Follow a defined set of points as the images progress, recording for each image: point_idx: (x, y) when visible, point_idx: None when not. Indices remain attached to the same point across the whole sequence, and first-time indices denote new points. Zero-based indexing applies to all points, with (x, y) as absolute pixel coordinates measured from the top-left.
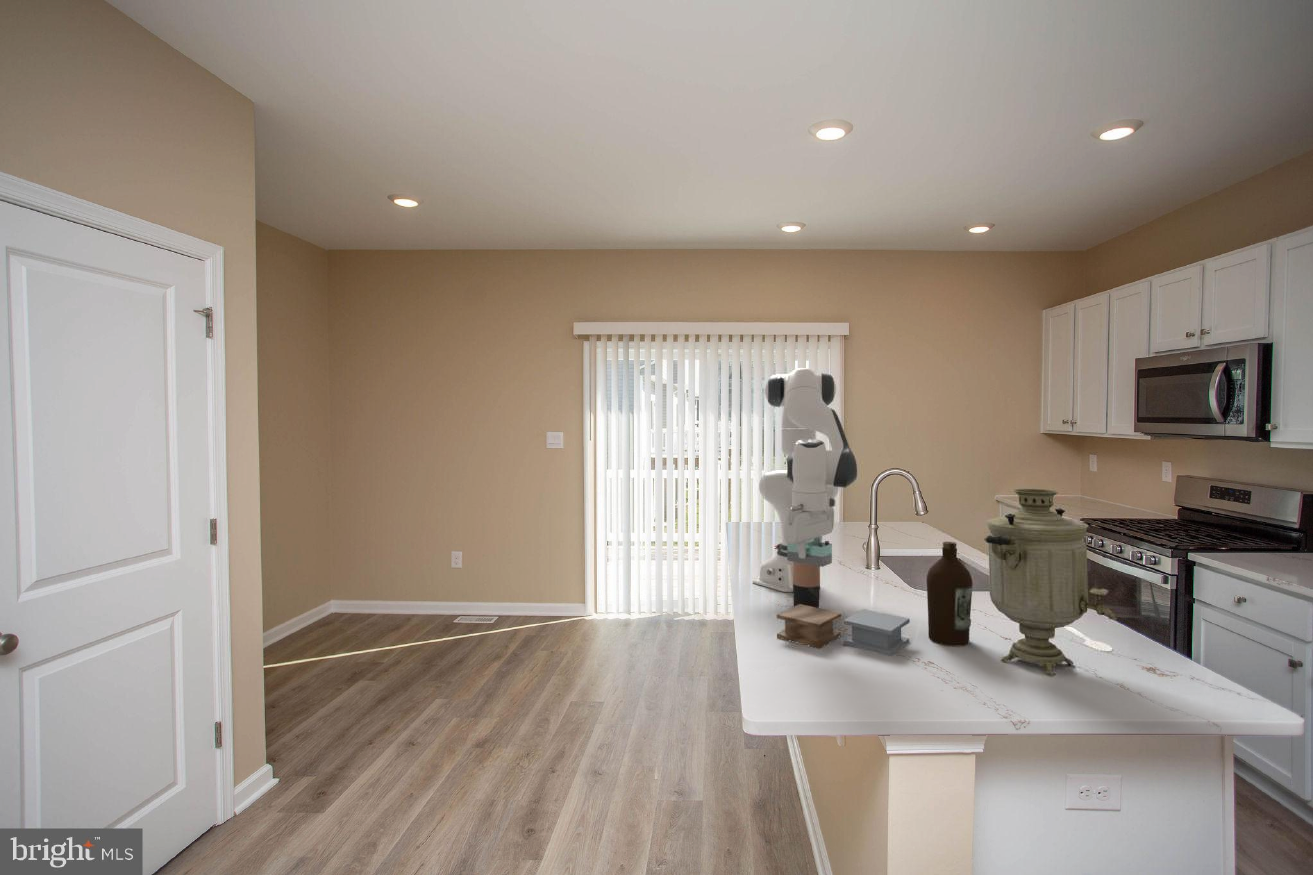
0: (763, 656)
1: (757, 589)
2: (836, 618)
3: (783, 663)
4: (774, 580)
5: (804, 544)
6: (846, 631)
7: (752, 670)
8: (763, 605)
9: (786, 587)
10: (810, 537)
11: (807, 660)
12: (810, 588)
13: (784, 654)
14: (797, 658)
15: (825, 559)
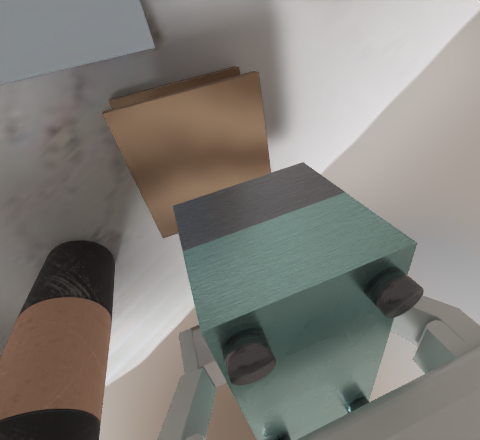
0: (350, 112)
1: None
2: (140, 102)
3: (359, 55)
4: None
5: (453, 322)
6: (65, 116)
7: (416, 70)
8: (141, 319)
9: None
10: (474, 389)
11: (315, 28)
12: (79, 294)
13: (318, 93)
14: (319, 55)
15: (283, 195)
